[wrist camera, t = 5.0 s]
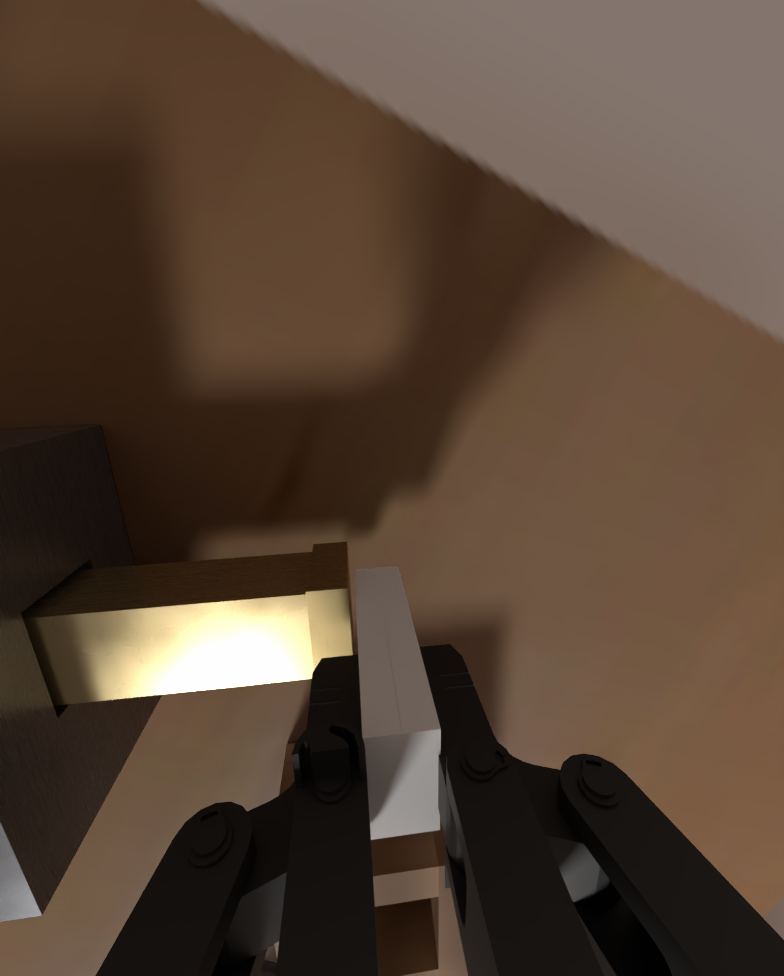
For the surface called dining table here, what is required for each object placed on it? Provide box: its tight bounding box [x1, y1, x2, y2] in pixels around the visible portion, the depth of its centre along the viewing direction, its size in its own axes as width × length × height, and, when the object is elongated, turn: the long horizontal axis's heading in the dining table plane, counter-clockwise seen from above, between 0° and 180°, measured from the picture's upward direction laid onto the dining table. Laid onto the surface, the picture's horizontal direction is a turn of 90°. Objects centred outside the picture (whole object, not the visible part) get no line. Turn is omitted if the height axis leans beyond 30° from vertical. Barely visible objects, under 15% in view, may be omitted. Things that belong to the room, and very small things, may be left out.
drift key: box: [21, 542, 354, 706], centre depth 13 cm, size 3×9×3 cm, turn 92°
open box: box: [274, 743, 468, 976], centre depth 19 cm, size 8×8×6 cm
